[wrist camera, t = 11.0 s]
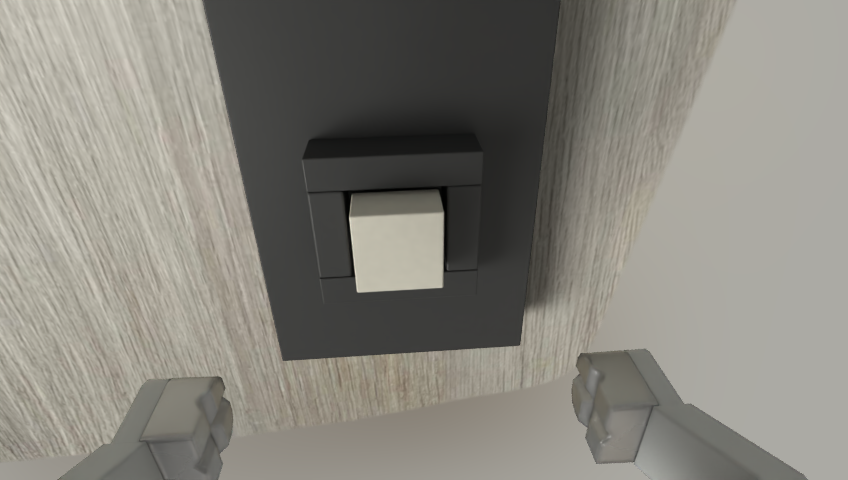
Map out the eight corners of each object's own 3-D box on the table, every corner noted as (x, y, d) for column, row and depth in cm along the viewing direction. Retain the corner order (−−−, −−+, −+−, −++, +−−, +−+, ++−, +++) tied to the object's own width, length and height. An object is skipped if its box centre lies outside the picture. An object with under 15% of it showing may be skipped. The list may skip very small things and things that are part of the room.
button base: (542, -17, 17) (582, -6, 14) (509, 315, 25) (530, 374, 22) (221, -10, 17) (180, 3, 13) (290, 329, 24) (275, 392, 21)
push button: (438, 188, 17) (444, 212, 16) (438, 260, 19) (443, 288, 17) (351, 192, 17) (348, 216, 15) (358, 264, 19) (357, 293, 17)
